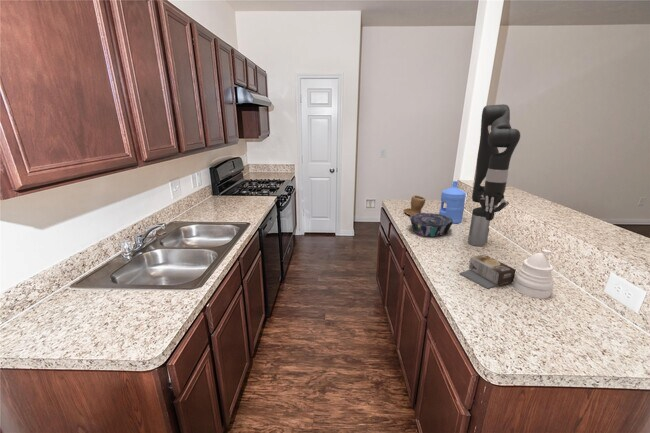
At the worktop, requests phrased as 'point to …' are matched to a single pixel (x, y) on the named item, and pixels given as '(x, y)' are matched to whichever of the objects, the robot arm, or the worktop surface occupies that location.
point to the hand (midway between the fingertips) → (488, 220)
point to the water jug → (453, 203)
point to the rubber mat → (478, 279)
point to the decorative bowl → (430, 224)
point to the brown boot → (415, 205)
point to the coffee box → (492, 269)
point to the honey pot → (535, 276)
